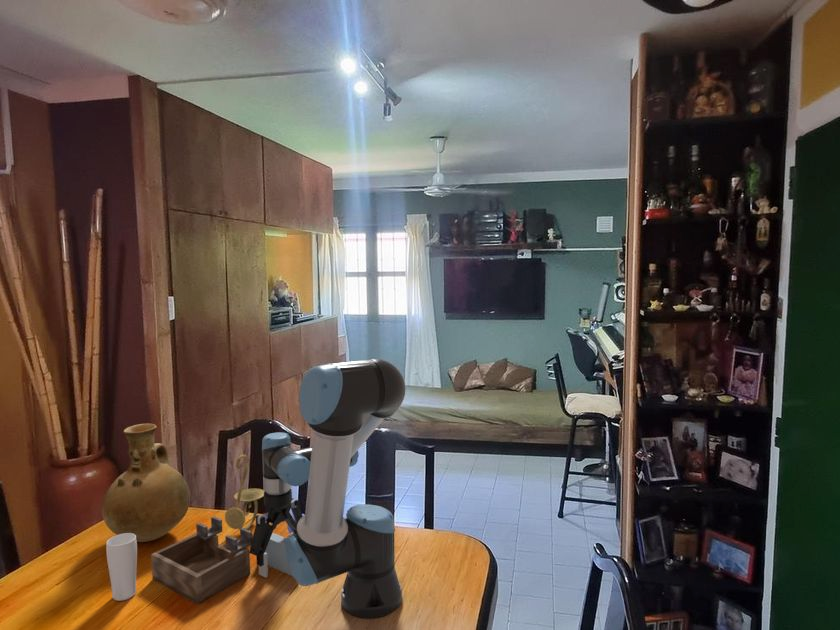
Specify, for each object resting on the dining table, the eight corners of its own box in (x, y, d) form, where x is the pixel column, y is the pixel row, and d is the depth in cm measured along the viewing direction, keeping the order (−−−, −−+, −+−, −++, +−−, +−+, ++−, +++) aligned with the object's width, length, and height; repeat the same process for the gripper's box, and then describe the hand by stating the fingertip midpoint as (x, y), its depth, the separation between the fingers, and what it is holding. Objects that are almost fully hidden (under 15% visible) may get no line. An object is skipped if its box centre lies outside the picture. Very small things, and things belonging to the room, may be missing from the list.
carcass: (256, 569, 149) (255, 533, 148) (198, 604, 134) (196, 563, 133) (211, 549, 160) (210, 514, 159) (152, 579, 145) (150, 541, 144)
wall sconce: (249, 542, 164) (246, 462, 162) (221, 538, 166) (218, 459, 164) (271, 521, 178) (269, 447, 176) (245, 518, 180) (242, 445, 178)
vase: (139, 518, 181) (133, 415, 177) (206, 522, 177) (202, 417, 174) (85, 555, 157) (78, 438, 154) (162, 561, 154) (156, 441, 151)
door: (304, 570, 149) (303, 542, 148) (293, 576, 146) (293, 548, 145) (269, 555, 157) (268, 529, 156) (259, 561, 154) (258, 534, 153)
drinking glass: (118, 607, 133) (115, 548, 132) (103, 598, 137) (100, 541, 135) (145, 592, 139) (142, 536, 138) (130, 584, 143) (127, 530, 141)
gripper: (299, 473, 161) (301, 543, 163) (233, 501, 141) (236, 581, 143) (317, 478, 157) (319, 550, 159) (252, 508, 137) (255, 590, 139)
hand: (279, 565), depth 151 cm, fingers open, 11 cm apart
